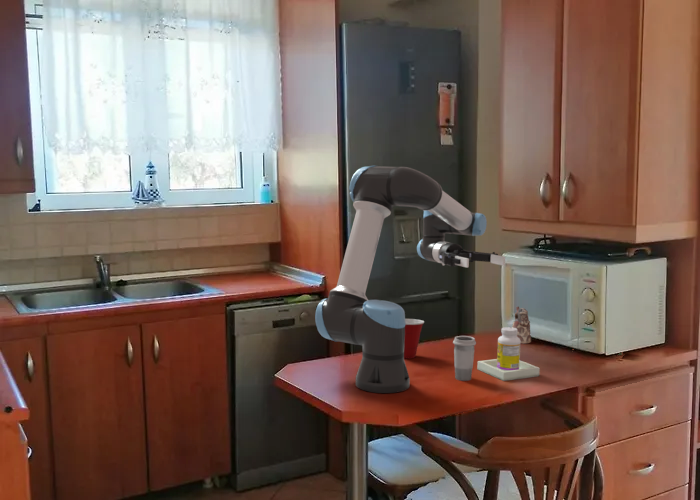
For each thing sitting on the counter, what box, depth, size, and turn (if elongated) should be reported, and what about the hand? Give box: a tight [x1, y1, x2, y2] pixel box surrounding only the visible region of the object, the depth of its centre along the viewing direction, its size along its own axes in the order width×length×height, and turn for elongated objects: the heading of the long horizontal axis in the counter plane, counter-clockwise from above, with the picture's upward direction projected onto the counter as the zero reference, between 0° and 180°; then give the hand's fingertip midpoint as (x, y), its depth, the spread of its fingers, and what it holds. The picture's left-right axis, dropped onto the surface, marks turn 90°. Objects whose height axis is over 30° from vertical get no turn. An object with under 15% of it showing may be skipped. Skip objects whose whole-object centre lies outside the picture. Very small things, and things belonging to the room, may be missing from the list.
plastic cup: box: [404, 318, 425, 359], centre depth 242 cm, size 11×11×12 cm
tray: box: [476, 358, 540, 382], centre depth 226 cm, size 13×13×2 cm
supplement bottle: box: [496, 326, 521, 371], centre depth 225 cm, size 7×7×13 cm
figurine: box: [511, 306, 532, 344], centre depth 265 cm, size 7×7×12 cm
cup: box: [452, 335, 477, 382], centre depth 218 cm, size 7×7×12 cm
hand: (486, 262), depth 232 cm, fingers open, 13 cm apart
